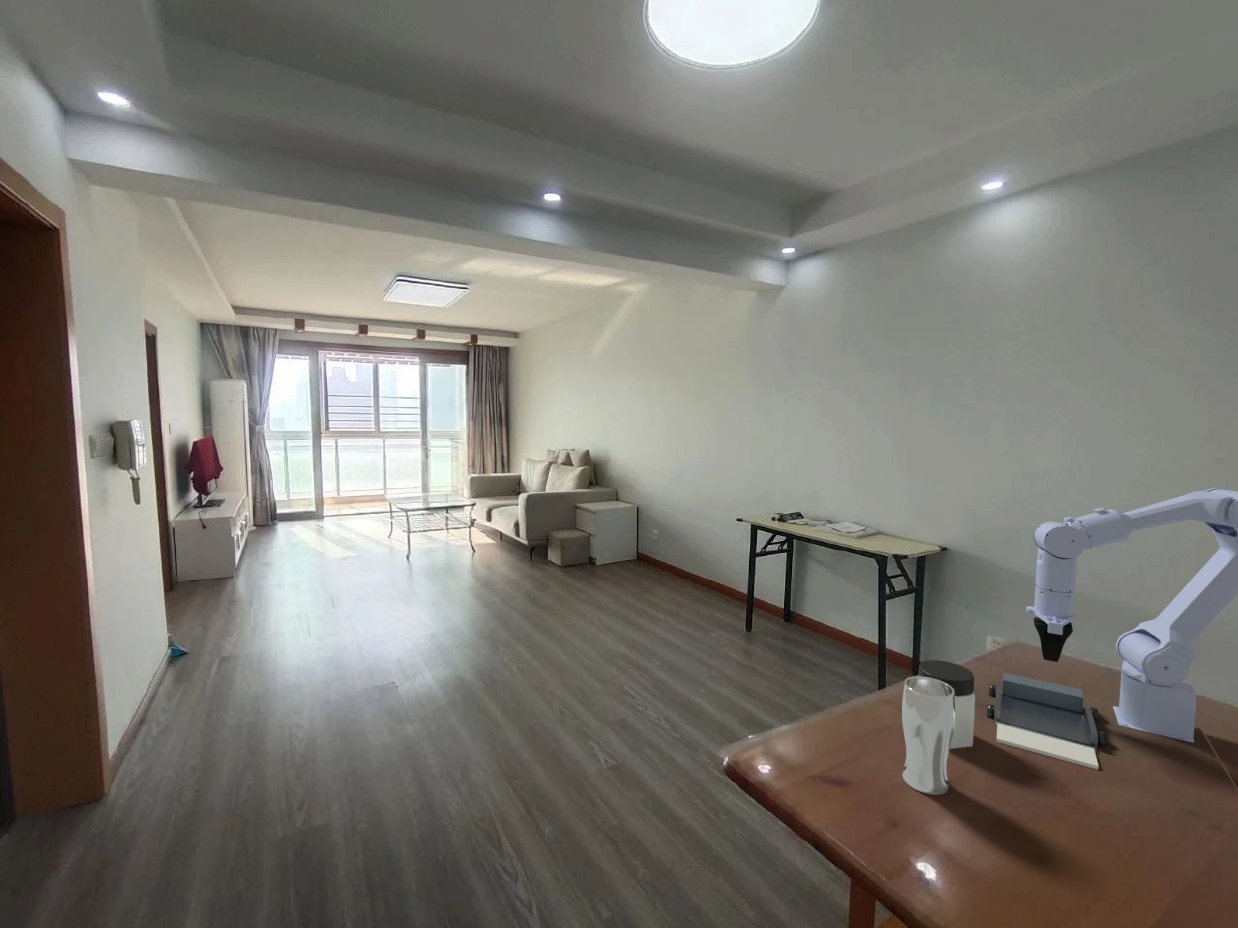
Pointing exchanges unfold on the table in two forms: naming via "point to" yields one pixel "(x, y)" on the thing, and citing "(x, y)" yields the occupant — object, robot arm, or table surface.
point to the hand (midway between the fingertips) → (1050, 659)
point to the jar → (956, 696)
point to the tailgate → (1047, 745)
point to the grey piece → (1045, 709)
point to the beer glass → (927, 732)
